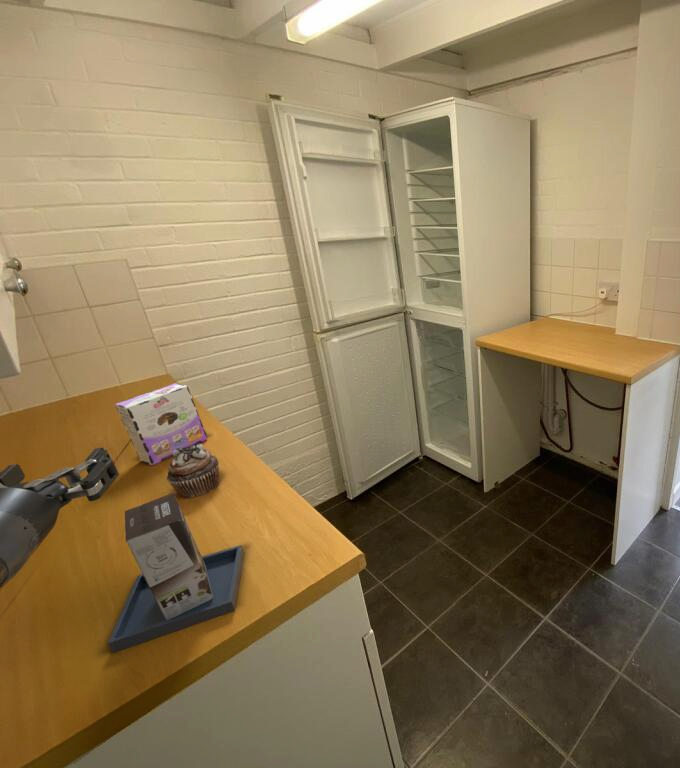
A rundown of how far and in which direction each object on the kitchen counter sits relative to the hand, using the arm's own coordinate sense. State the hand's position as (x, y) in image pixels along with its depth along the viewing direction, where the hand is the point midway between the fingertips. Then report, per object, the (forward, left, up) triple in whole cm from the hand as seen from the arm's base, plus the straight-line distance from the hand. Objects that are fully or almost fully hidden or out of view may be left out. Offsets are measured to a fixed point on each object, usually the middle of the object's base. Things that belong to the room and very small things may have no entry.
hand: (61, 461), depth 55 cm
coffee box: (+6, 0, -28) cm, 28 cm away
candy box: (-7, +57, -28) cm, 64 cm away
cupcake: (+2, +34, -28) cm, 44 cm away
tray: (+6, 0, -28) cm, 29 cm away
